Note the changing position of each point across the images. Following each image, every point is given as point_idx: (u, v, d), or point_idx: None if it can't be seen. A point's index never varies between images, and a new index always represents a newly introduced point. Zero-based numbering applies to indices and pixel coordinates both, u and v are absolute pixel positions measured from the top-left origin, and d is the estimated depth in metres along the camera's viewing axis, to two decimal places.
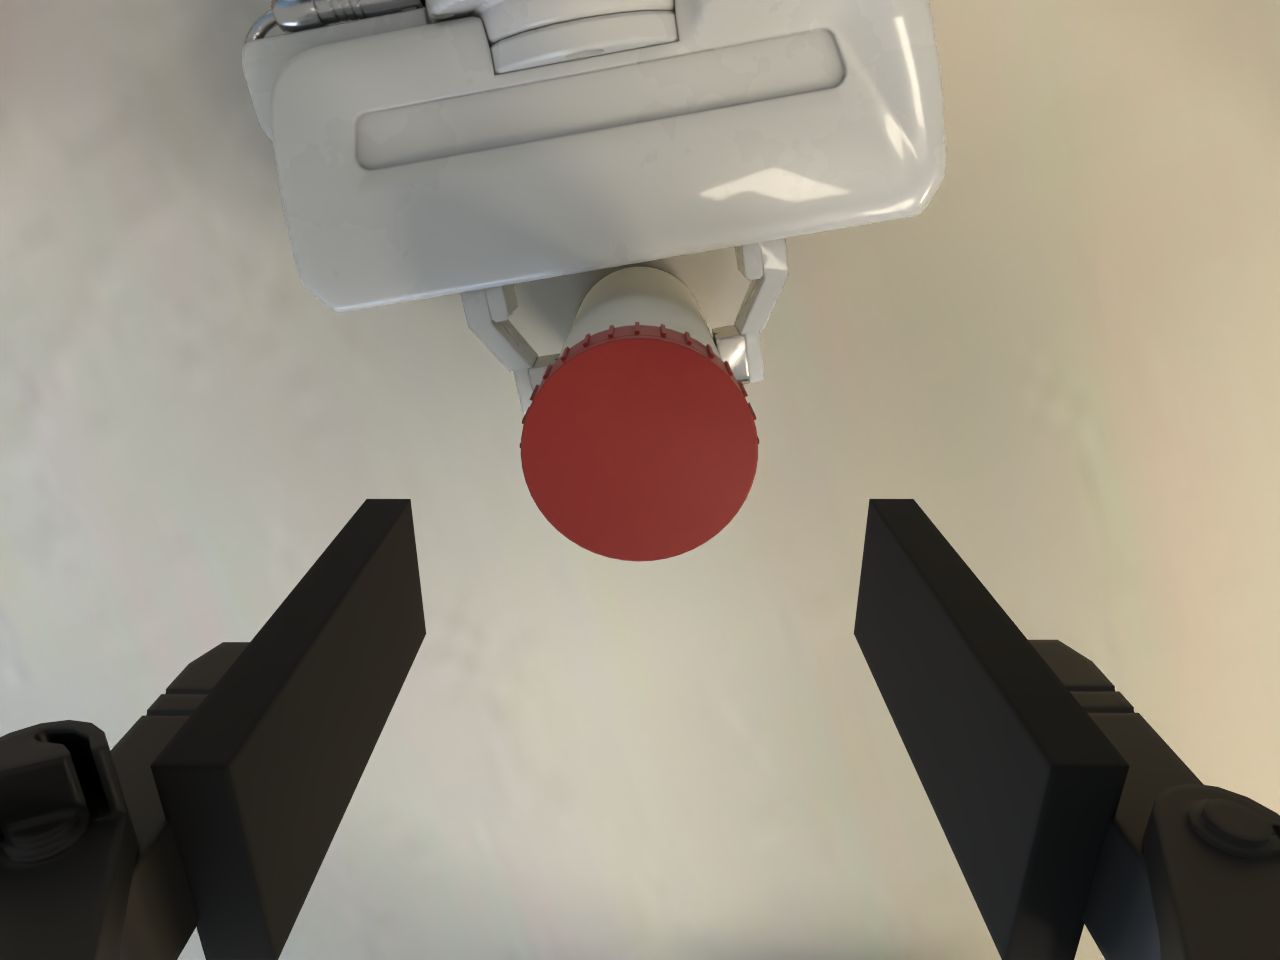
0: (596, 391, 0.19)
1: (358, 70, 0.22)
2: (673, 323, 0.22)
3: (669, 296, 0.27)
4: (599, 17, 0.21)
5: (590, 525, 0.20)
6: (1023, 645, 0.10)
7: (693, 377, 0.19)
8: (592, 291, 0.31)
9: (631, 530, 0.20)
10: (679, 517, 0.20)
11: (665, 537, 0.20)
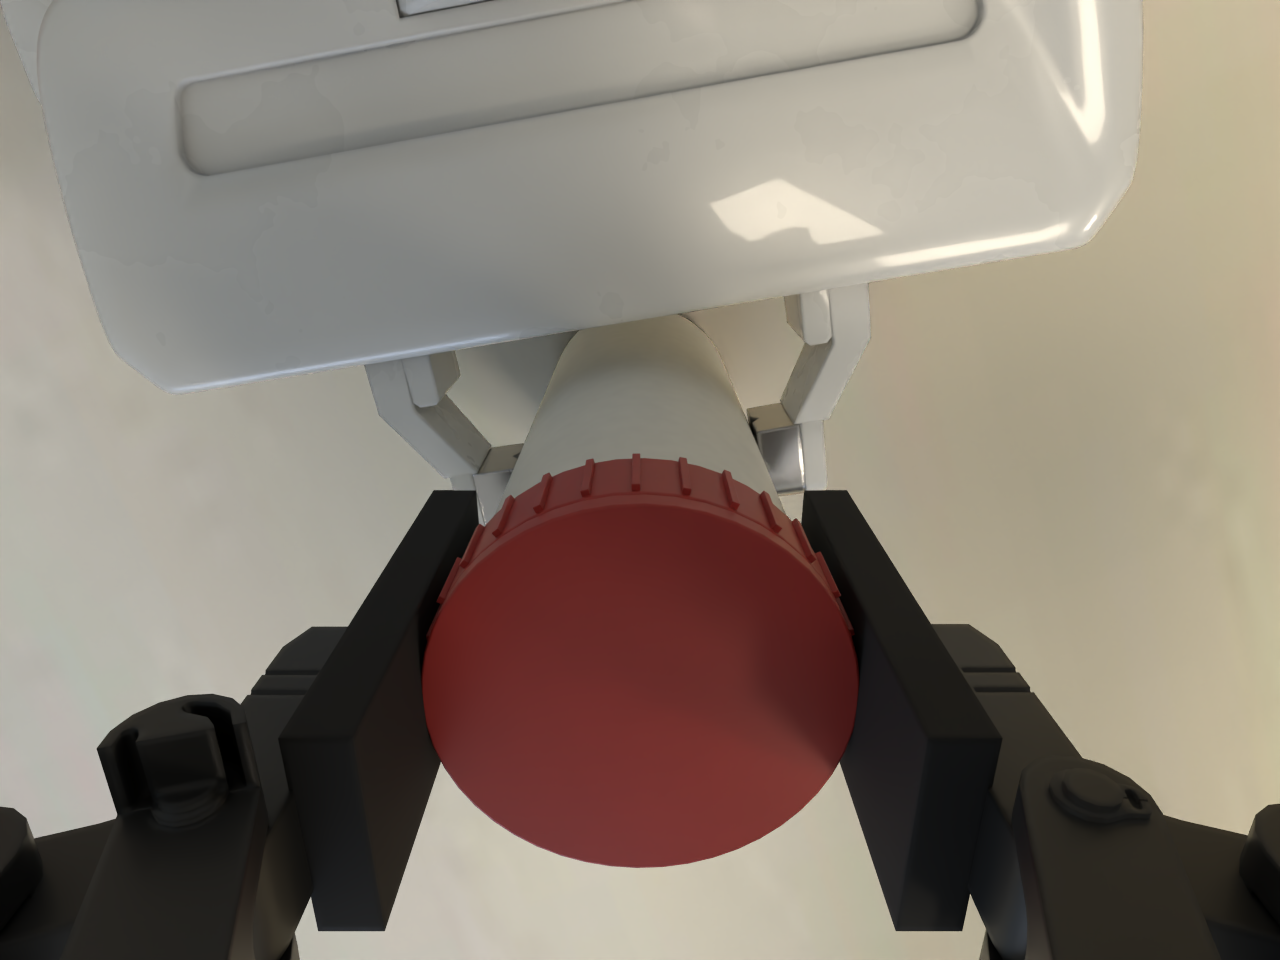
0: (559, 597, 0.10)
1: (171, 9, 0.13)
2: (697, 434, 0.13)
3: (685, 364, 0.18)
4: None
5: (552, 814, 0.11)
6: (924, 627, 0.10)
7: (743, 573, 0.10)
8: (574, 343, 0.22)
9: (625, 821, 0.11)
10: (712, 801, 0.11)
11: (686, 832, 0.11)
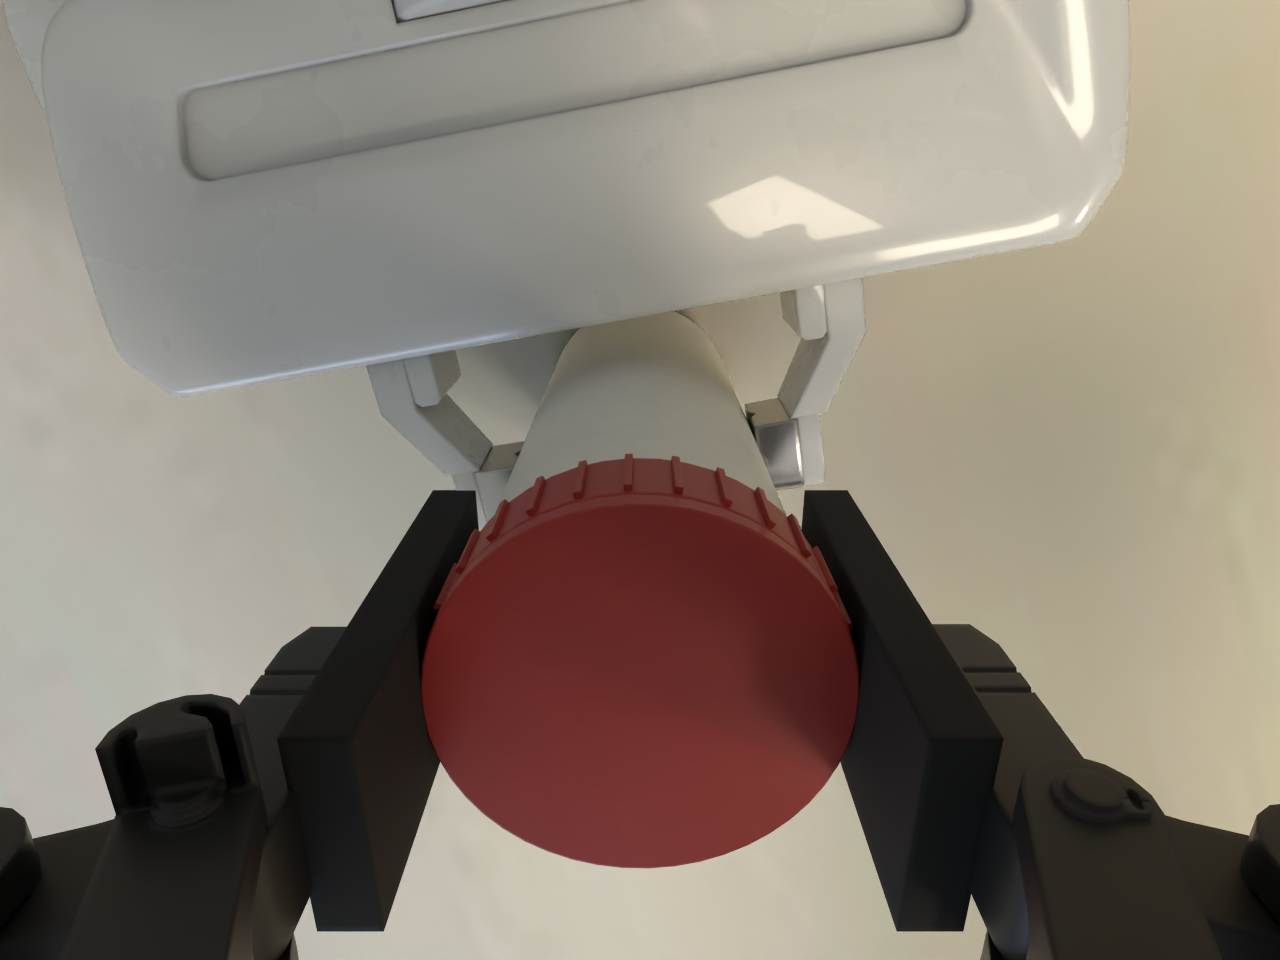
0: (617, 816, 0.11)
1: (173, 19, 0.14)
2: (694, 428, 0.13)
3: (683, 361, 0.18)
4: None
5: (807, 668, 0.10)
6: (925, 627, 0.10)
7: (473, 743, 0.11)
8: (573, 342, 0.23)
9: (757, 615, 0.10)
10: (667, 578, 0.10)
11: (718, 565, 0.10)
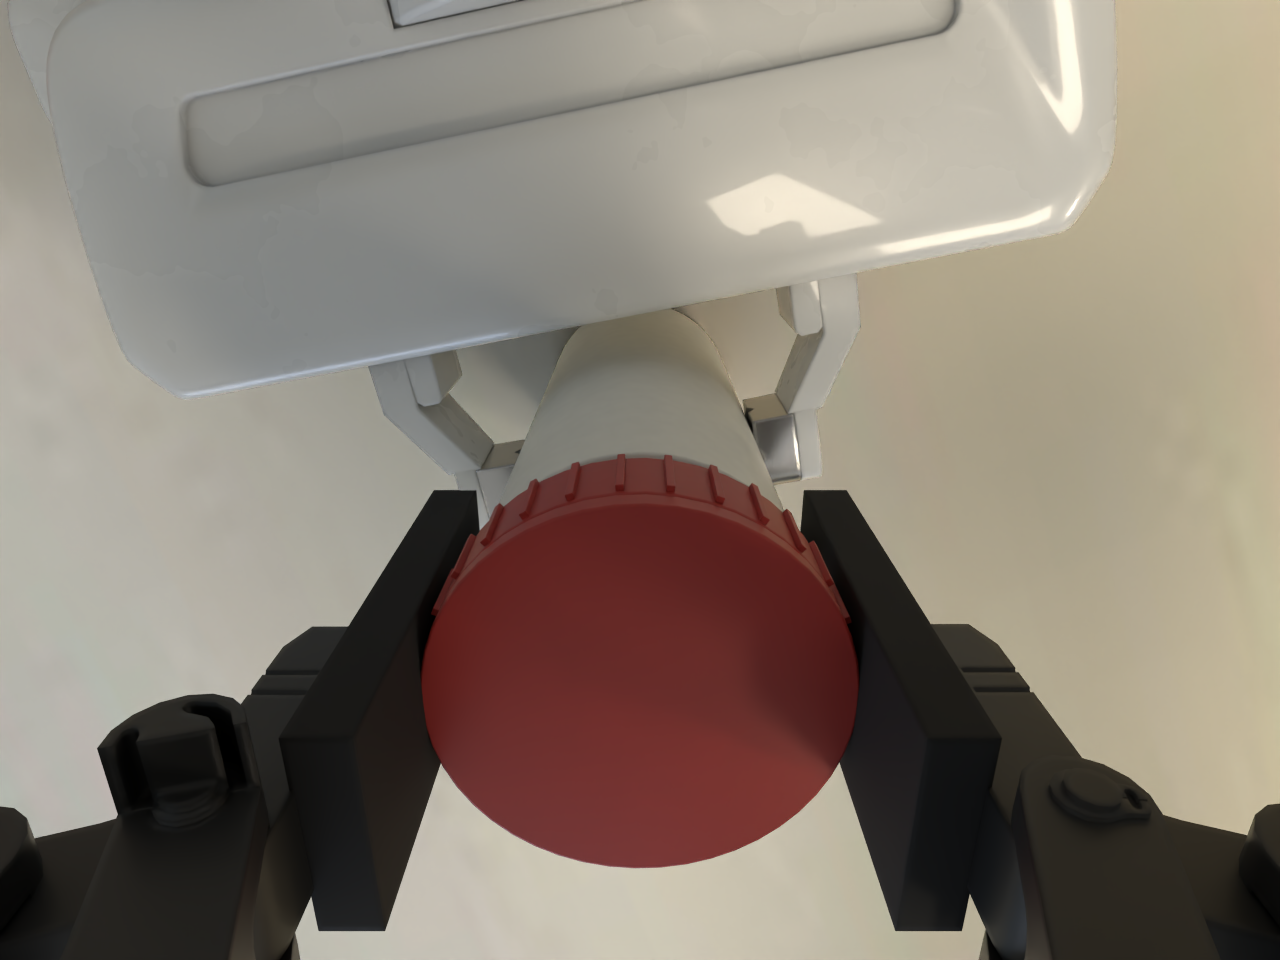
0: (758, 627, 0.10)
1: (175, 28, 0.14)
2: (691, 423, 0.14)
3: (680, 358, 0.18)
4: None
5: (482, 640, 0.10)
6: (923, 627, 0.10)
7: (793, 767, 0.11)
8: (573, 341, 0.23)
9: (487, 707, 0.11)
10: (530, 776, 0.11)
11: (485, 761, 0.11)
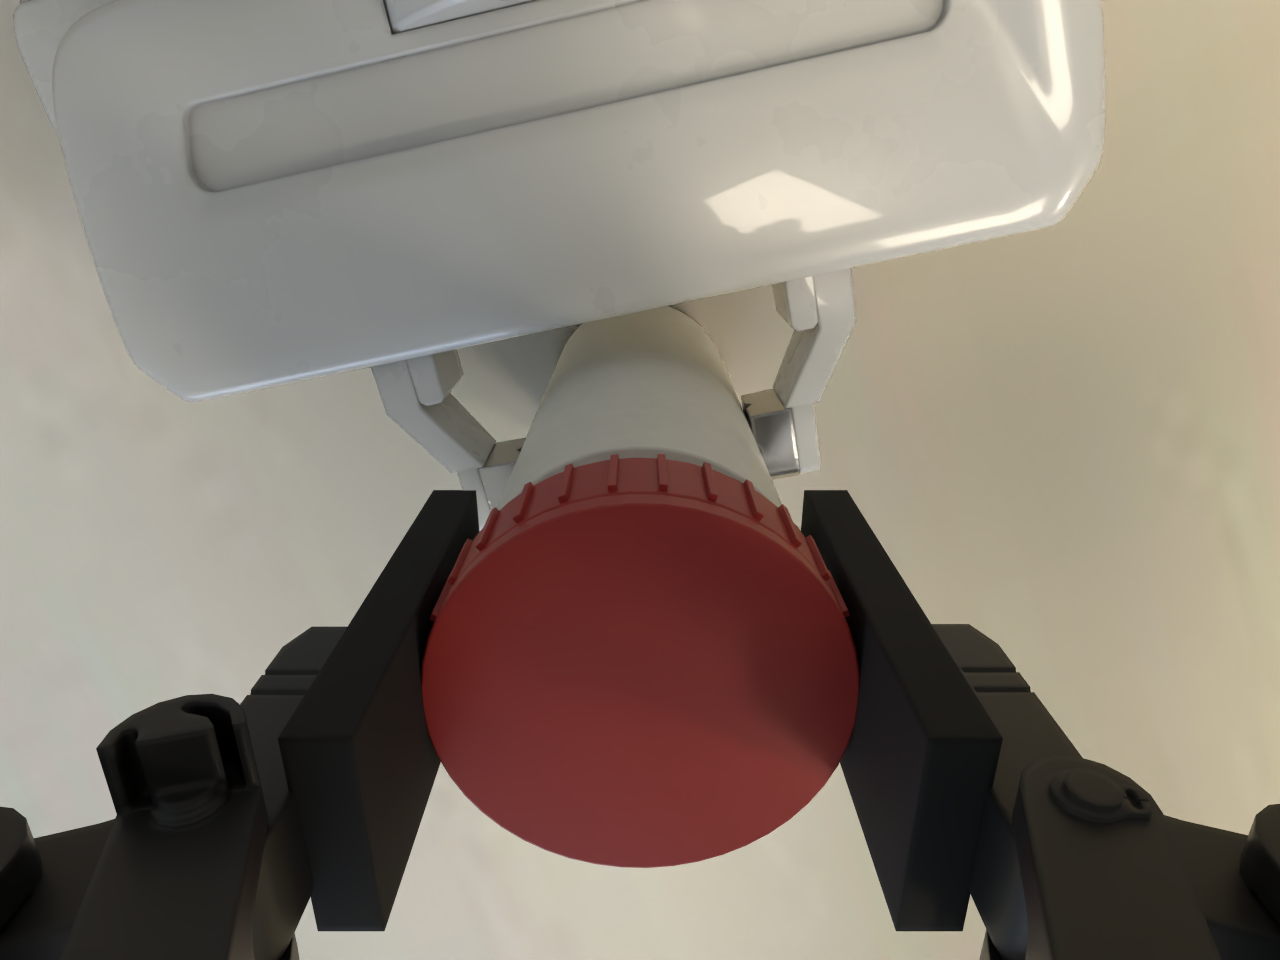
0: (494, 699, 0.11)
1: (177, 37, 0.14)
2: (688, 418, 0.14)
3: (679, 355, 0.18)
4: None
5: (699, 825, 0.11)
6: (924, 627, 0.10)
7: (566, 559, 0.10)
8: (573, 340, 0.23)
9: (751, 782, 0.11)
10: (785, 711, 0.11)
11: (801, 748, 0.11)
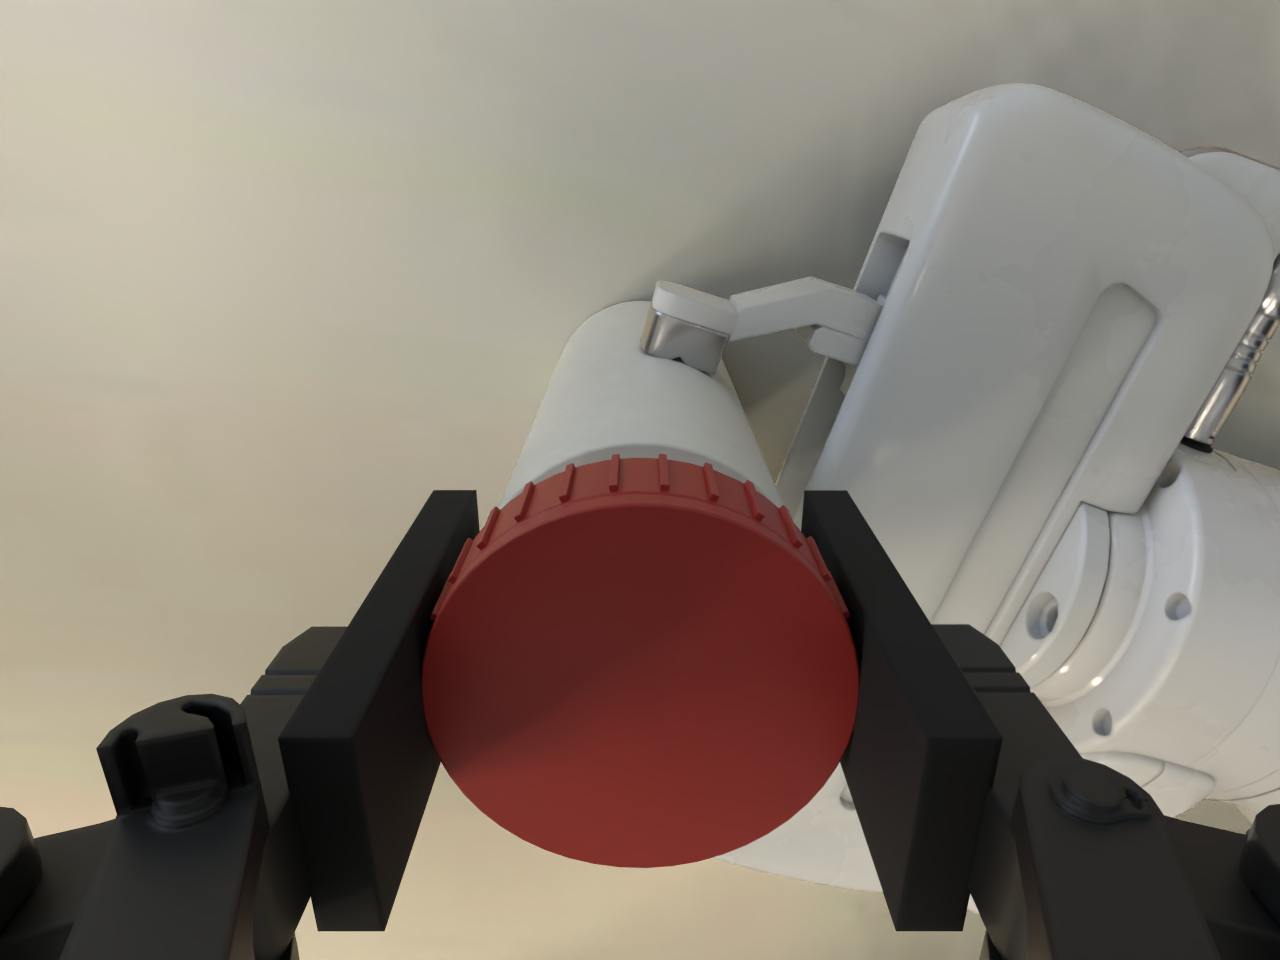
0: (494, 699, 0.11)
1: (1202, 352, 0.17)
2: None
3: None
4: (1069, 657, 0.18)
5: (698, 826, 0.11)
6: (924, 627, 0.10)
7: (567, 558, 0.10)
8: None
9: (751, 783, 0.11)
10: (785, 712, 0.11)
11: (801, 748, 0.11)
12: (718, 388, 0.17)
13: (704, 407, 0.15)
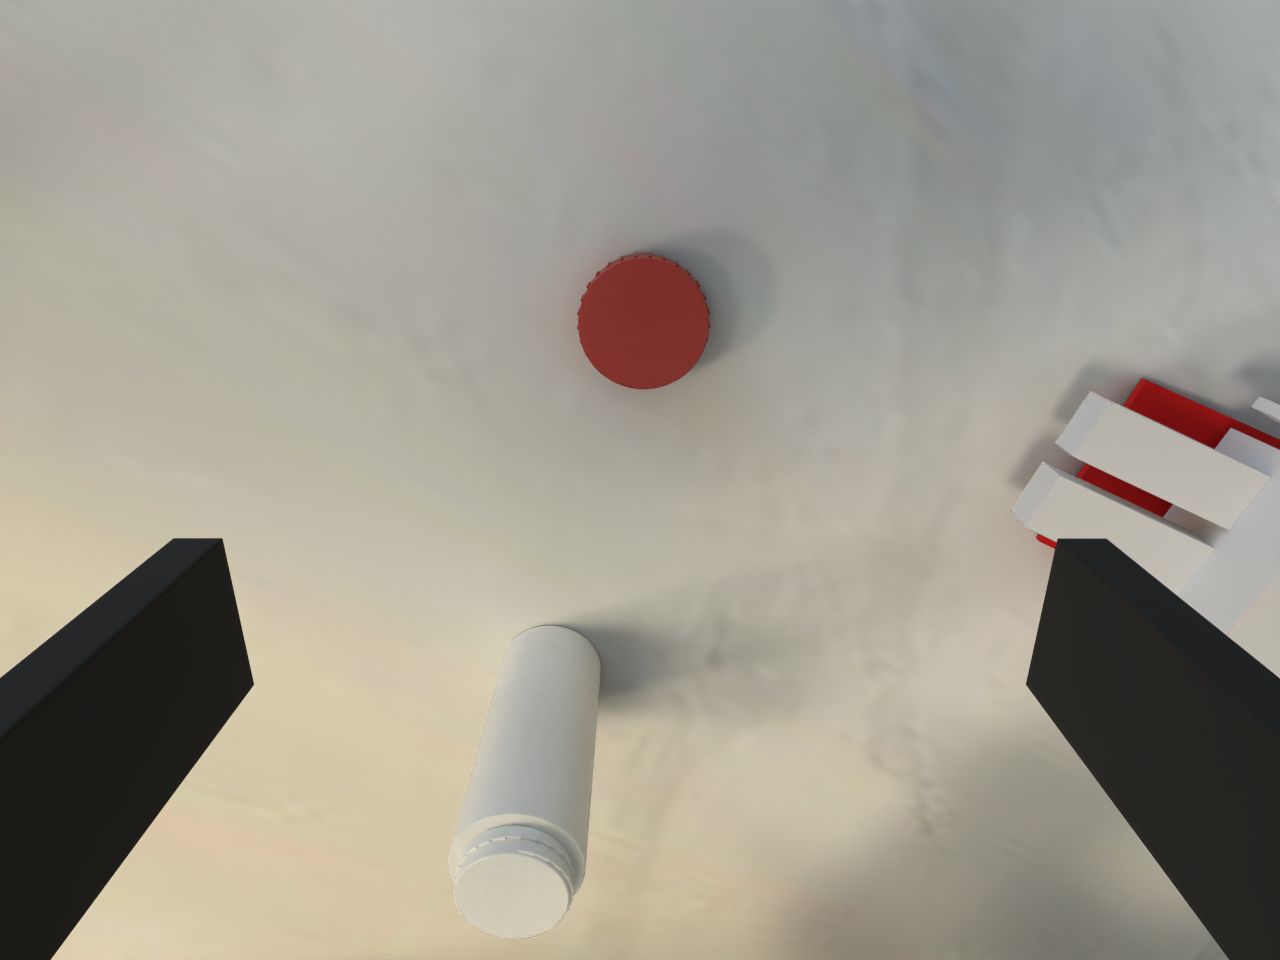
0: (600, 323, 0.35)
1: None
2: None
3: None
4: None
5: (662, 371, 0.36)
6: None
7: (622, 275, 0.35)
8: None
9: (678, 354, 0.36)
10: (687, 327, 0.36)
11: (692, 341, 0.36)
12: (582, 747, 0.36)
13: (569, 778, 0.34)
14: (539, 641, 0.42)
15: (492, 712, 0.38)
